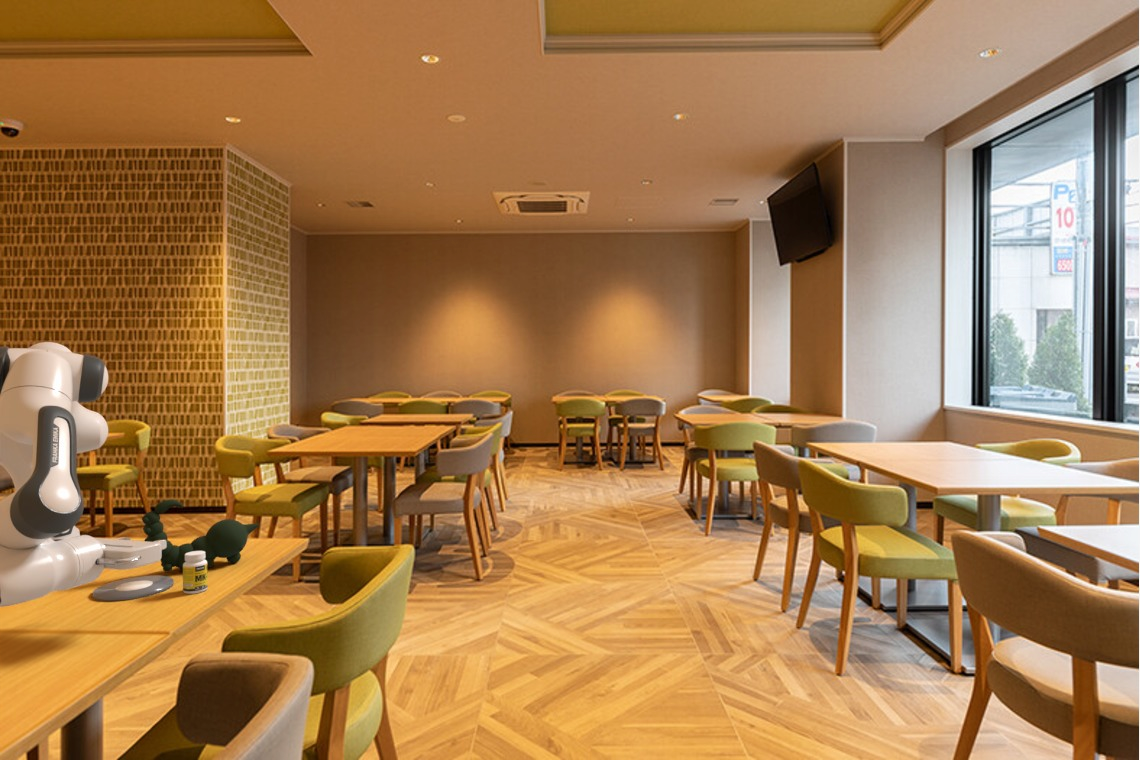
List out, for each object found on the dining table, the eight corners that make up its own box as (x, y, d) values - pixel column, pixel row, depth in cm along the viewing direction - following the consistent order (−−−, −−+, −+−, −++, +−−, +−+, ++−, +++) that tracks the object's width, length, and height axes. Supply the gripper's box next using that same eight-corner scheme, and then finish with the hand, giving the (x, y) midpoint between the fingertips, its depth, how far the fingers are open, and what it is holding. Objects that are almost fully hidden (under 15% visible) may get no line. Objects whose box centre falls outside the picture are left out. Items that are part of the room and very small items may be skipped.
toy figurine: (152, 588, 155) (267, 559, 169) (141, 508, 153) (258, 486, 168) (148, 578, 162) (258, 551, 177) (138, 501, 161) (250, 481, 176)
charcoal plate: (75, 597, 144) (75, 593, 144) (138, 576, 158) (138, 572, 158) (129, 604, 139) (129, 599, 139) (189, 581, 154) (189, 578, 154)
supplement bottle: (196, 595, 145) (196, 556, 144) (177, 593, 146) (177, 555, 145) (212, 587, 149) (212, 550, 149) (194, 586, 150) (193, 549, 150)
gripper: (120, 546, 119) (185, 529, 132) (37, 540, 125) (107, 524, 138) (121, 582, 119) (186, 561, 132) (38, 574, 125) (108, 555, 138)
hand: (145, 542), depth 135 cm, fingers open, 8 cm apart
